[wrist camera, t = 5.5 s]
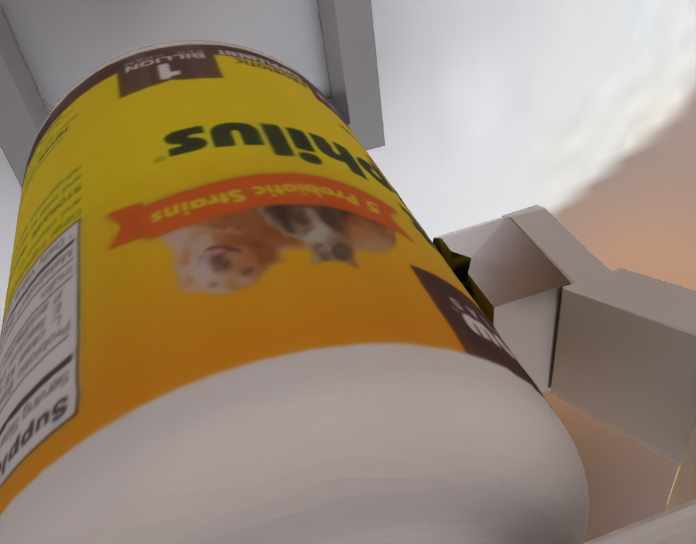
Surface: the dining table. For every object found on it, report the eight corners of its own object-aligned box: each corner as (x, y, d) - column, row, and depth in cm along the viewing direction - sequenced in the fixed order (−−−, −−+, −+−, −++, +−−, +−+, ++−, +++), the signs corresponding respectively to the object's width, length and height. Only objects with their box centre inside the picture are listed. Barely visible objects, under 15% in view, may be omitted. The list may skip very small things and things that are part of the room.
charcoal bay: (49, 197, 25) (45, 233, 23) (-121, -154, 18) (-147, -143, 16) (364, 117, 27) (384, 145, 25) (323, -230, 20) (348, -229, 18)
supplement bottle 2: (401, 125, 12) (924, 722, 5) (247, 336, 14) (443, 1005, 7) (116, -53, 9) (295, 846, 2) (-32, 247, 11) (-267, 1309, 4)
